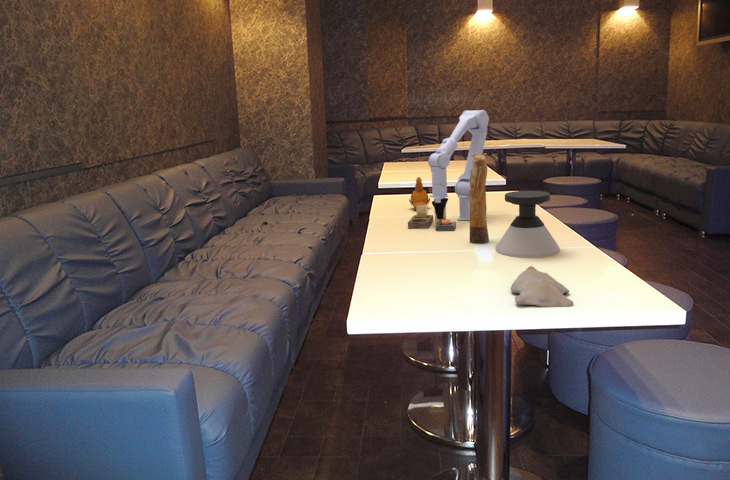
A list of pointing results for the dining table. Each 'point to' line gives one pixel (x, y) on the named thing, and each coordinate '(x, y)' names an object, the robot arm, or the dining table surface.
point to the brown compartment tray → (420, 222)
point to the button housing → (445, 226)
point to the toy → (419, 194)
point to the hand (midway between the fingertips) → (440, 217)
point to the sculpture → (478, 200)
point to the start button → (445, 222)
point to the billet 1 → (422, 211)
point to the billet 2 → (440, 219)
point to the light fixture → (527, 228)
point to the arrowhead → (539, 290)
